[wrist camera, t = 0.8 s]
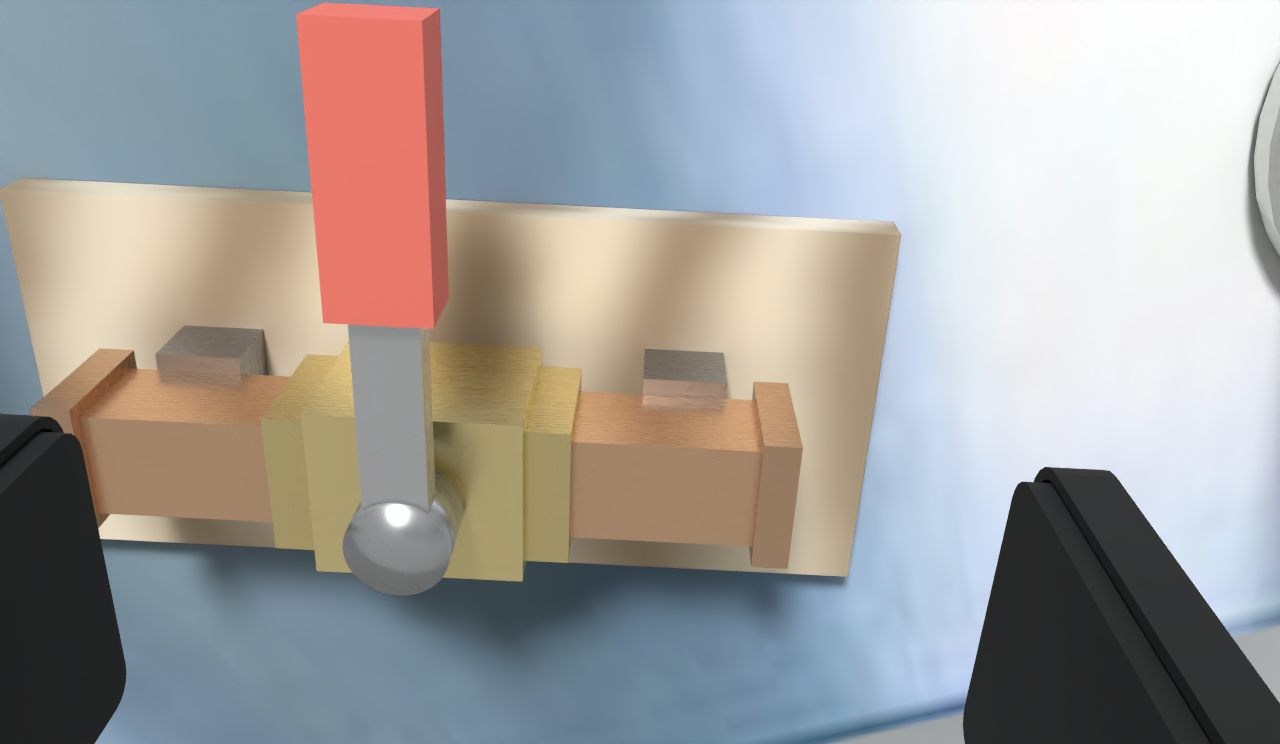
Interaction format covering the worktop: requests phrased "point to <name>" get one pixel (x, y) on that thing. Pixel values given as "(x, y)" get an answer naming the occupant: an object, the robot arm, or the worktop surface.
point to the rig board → (490, 315)
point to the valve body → (440, 449)
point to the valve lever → (384, 269)
